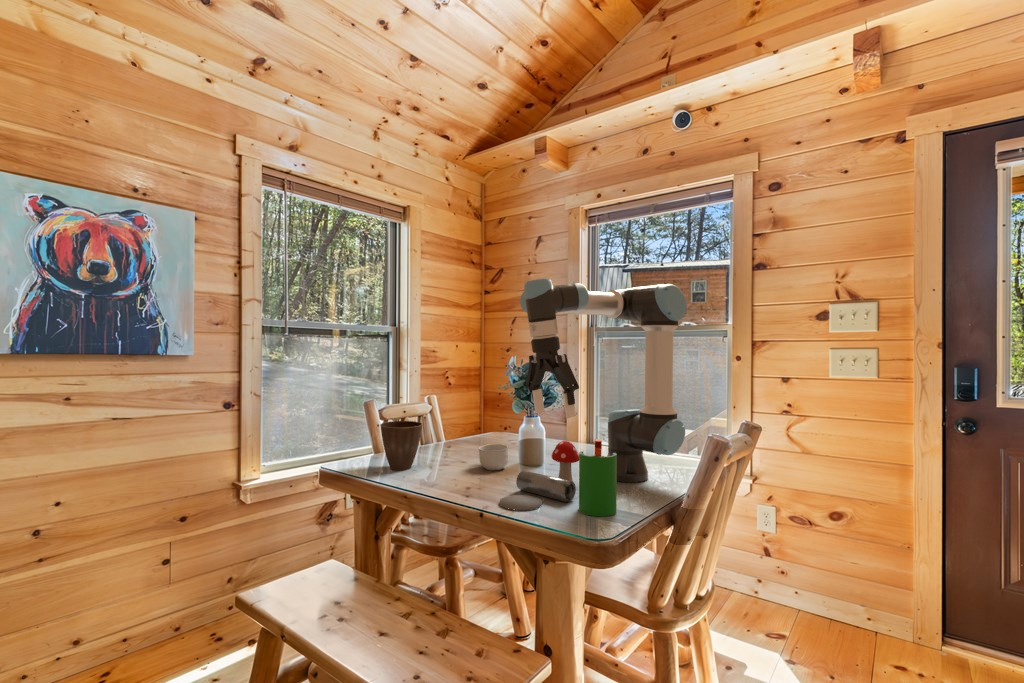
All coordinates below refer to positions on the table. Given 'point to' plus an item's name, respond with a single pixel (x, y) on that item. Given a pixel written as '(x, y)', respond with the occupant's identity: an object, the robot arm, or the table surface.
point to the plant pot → (401, 442)
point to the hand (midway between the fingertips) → (554, 414)
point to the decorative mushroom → (565, 458)
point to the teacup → (493, 456)
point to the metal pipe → (546, 486)
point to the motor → (597, 483)
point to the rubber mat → (521, 502)
